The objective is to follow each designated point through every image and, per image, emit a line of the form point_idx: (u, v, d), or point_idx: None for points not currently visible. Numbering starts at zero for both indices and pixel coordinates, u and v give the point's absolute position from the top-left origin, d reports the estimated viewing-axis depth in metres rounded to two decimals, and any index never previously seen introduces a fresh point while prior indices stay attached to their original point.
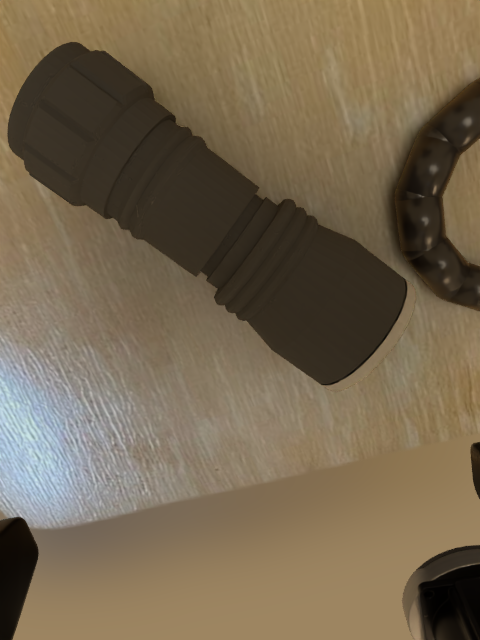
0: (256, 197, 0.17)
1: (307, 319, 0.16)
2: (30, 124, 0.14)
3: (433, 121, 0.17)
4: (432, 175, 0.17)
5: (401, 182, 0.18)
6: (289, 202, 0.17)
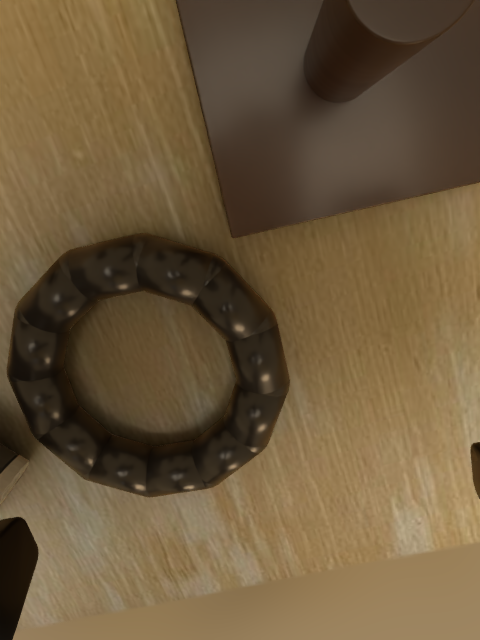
0: None
1: None
2: None
3: (23, 297, 0.15)
4: (24, 359, 0.15)
5: None
6: None
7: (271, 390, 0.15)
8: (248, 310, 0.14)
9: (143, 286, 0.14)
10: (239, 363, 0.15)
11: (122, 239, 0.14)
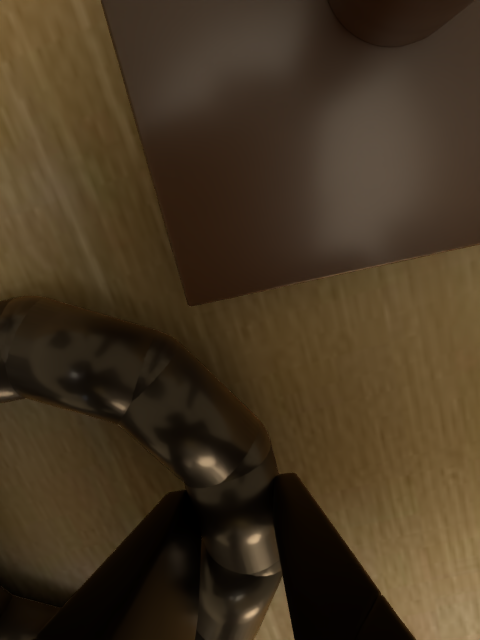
0: None
1: None
2: None
3: None
4: None
5: None
6: None
7: (261, 566, 0.08)
8: (218, 437, 0.08)
9: (25, 395, 0.08)
10: (204, 521, 0.08)
11: None
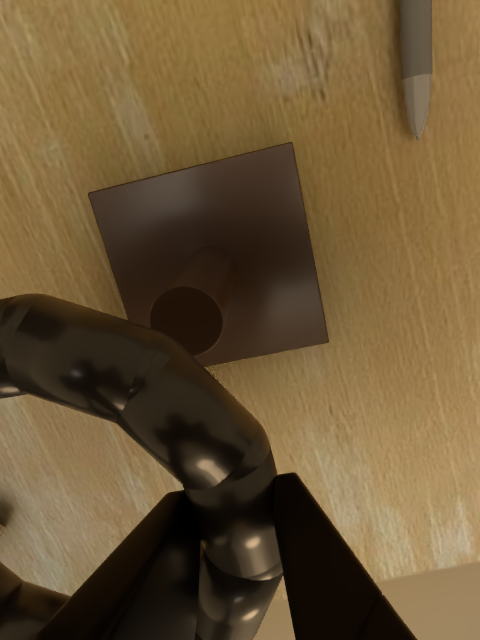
0: None
1: None
2: None
3: None
4: None
5: None
6: None
7: (257, 570, 0.08)
8: (213, 441, 0.08)
9: (26, 392, 0.08)
10: (200, 523, 0.08)
11: None
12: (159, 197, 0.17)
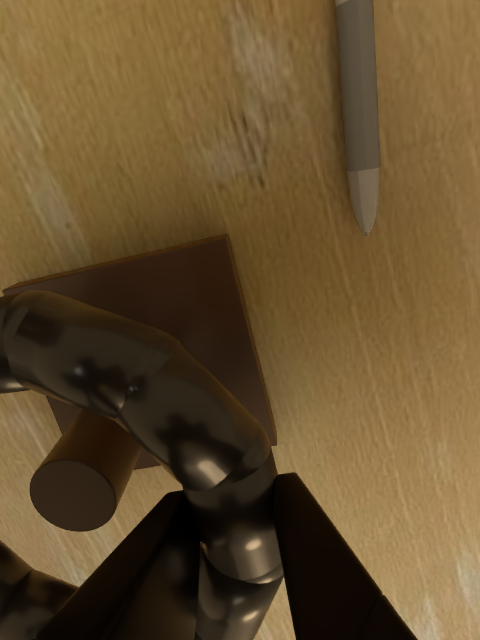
0: None
1: None
2: None
3: None
4: None
5: None
6: None
7: (255, 573, 0.08)
8: (211, 442, 0.08)
9: (29, 388, 0.08)
10: (199, 523, 0.08)
11: None
12: (81, 295, 0.15)
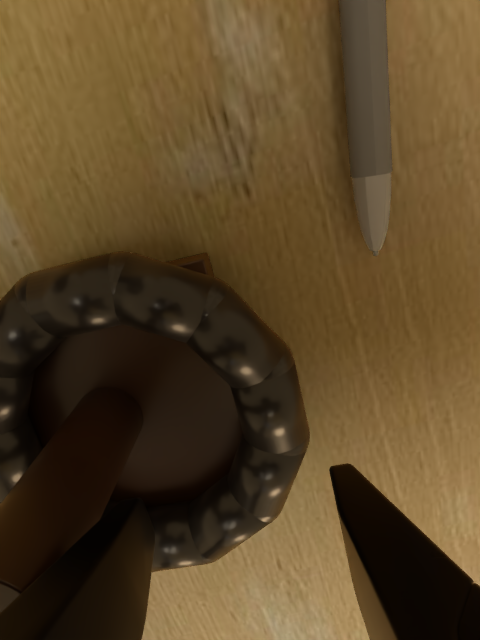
0: None
1: None
2: None
3: None
4: None
5: None
6: None
7: (288, 448, 0.12)
8: (258, 349, 0.11)
9: (123, 320, 0.11)
10: (246, 414, 0.12)
11: (95, 260, 0.11)
12: None
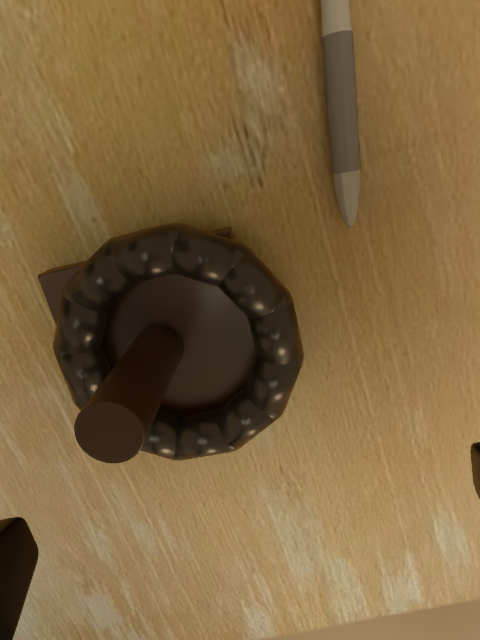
0: None
1: None
2: None
3: (69, 280, 0.17)
4: (71, 334, 0.17)
5: None
6: None
7: (288, 361, 0.17)
8: (268, 290, 0.16)
9: (177, 269, 0.16)
10: (259, 337, 0.17)
11: (158, 228, 0.16)
12: None
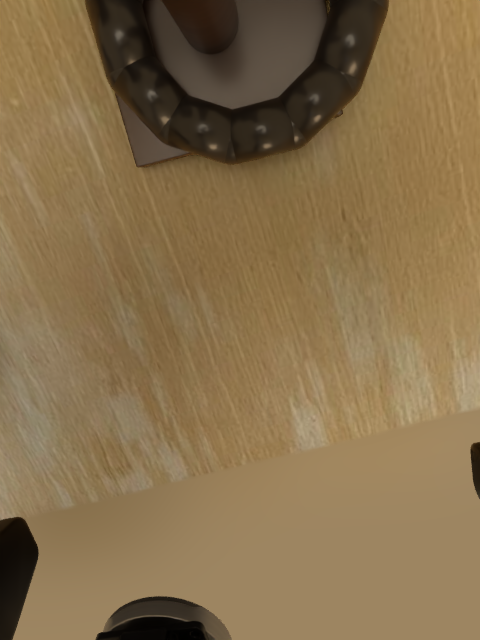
0: None
1: None
2: None
3: None
4: None
5: None
6: None
7: None
8: None
9: None
10: None
11: None
12: None
